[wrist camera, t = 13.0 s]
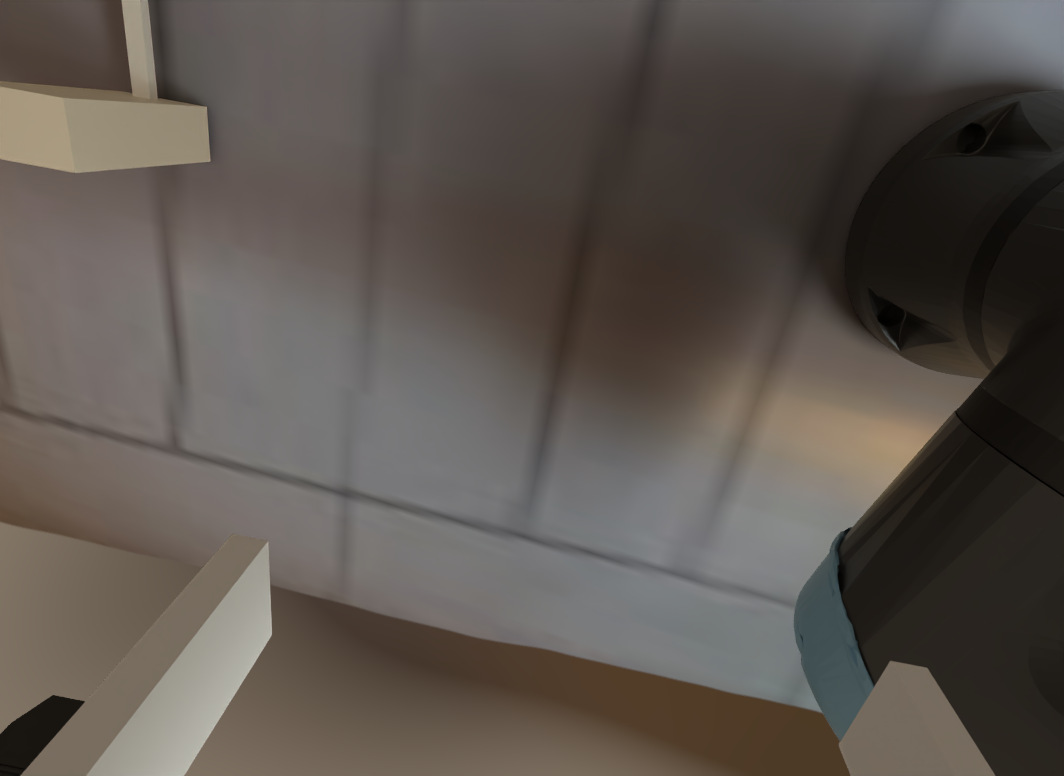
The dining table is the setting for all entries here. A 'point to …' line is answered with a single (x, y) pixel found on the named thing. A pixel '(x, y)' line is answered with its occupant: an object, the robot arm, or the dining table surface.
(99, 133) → the block sled
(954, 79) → the dining table surface
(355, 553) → the dining table surface
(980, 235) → the robot arm
